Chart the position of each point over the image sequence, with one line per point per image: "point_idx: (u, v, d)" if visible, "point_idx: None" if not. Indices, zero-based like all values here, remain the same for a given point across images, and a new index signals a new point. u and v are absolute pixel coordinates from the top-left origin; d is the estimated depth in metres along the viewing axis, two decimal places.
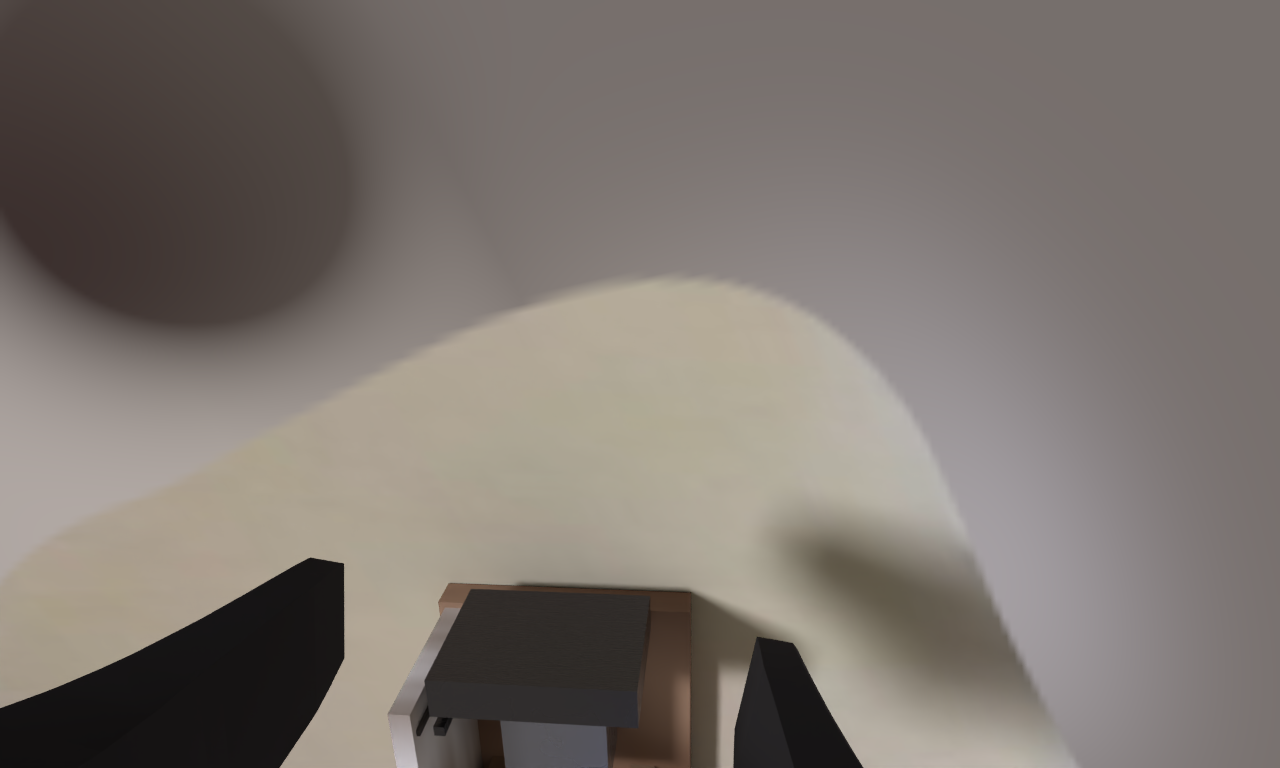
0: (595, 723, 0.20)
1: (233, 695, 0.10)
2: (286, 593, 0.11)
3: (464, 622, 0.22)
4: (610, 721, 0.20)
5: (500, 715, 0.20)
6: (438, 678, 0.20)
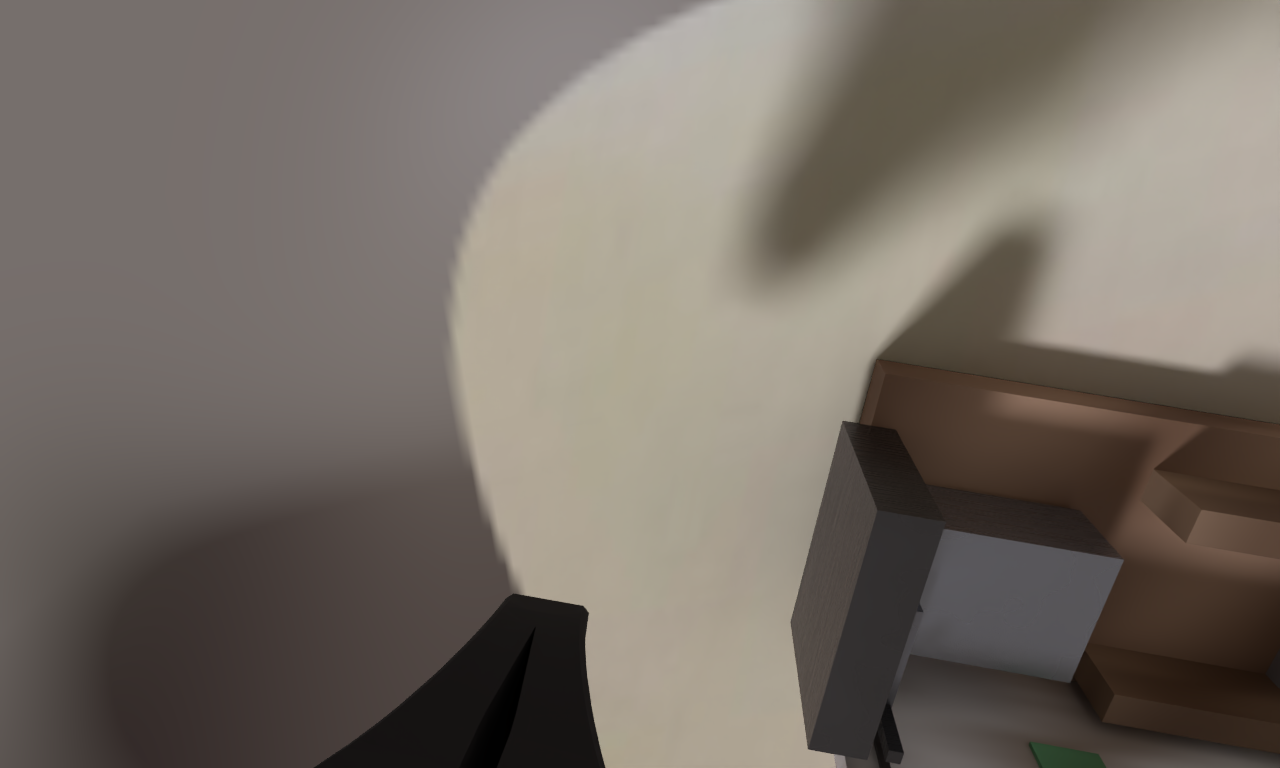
0: (923, 574, 0.14)
1: (489, 742, 0.10)
2: (515, 634, 0.11)
3: (799, 656, 0.17)
4: (924, 554, 0.13)
5: (883, 683, 0.14)
6: (811, 731, 0.15)
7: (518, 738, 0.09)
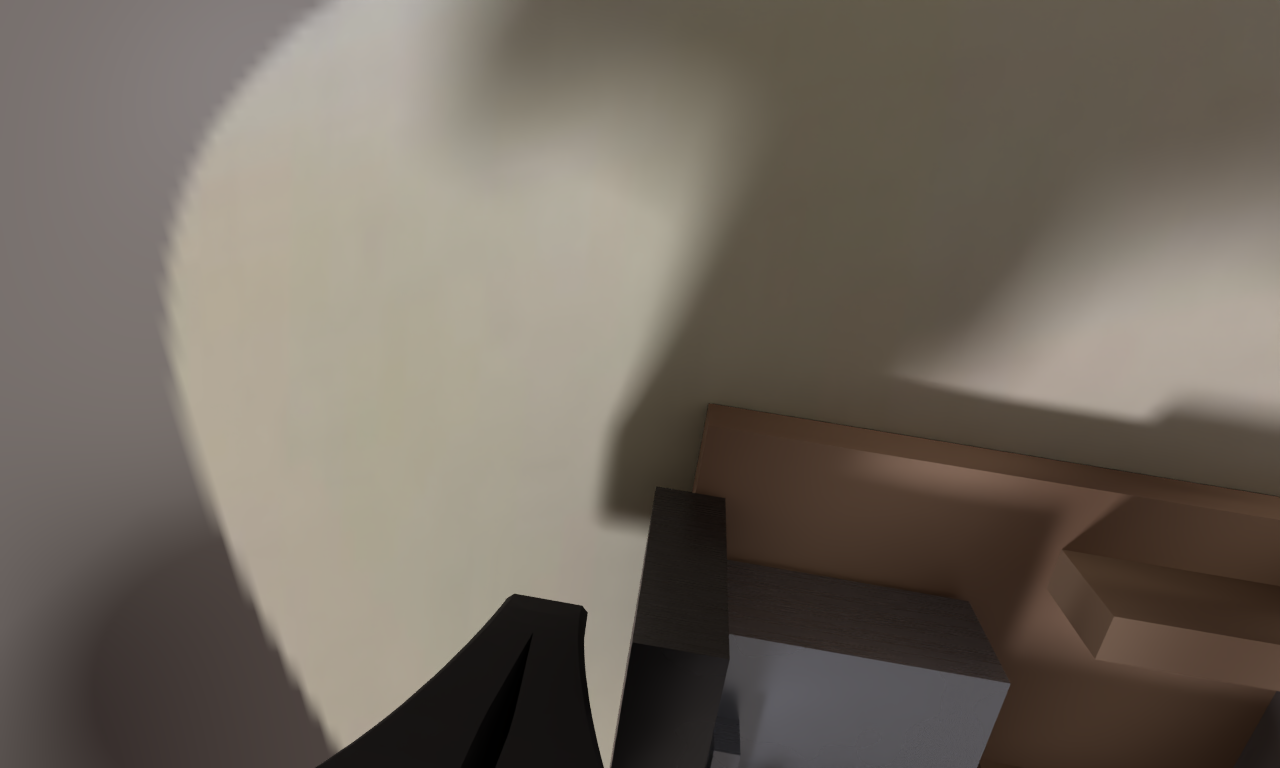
0: (707, 727, 0.10)
1: (490, 743, 0.10)
2: (515, 634, 0.11)
3: None
4: (704, 702, 0.09)
5: None
6: None
7: (516, 738, 0.09)
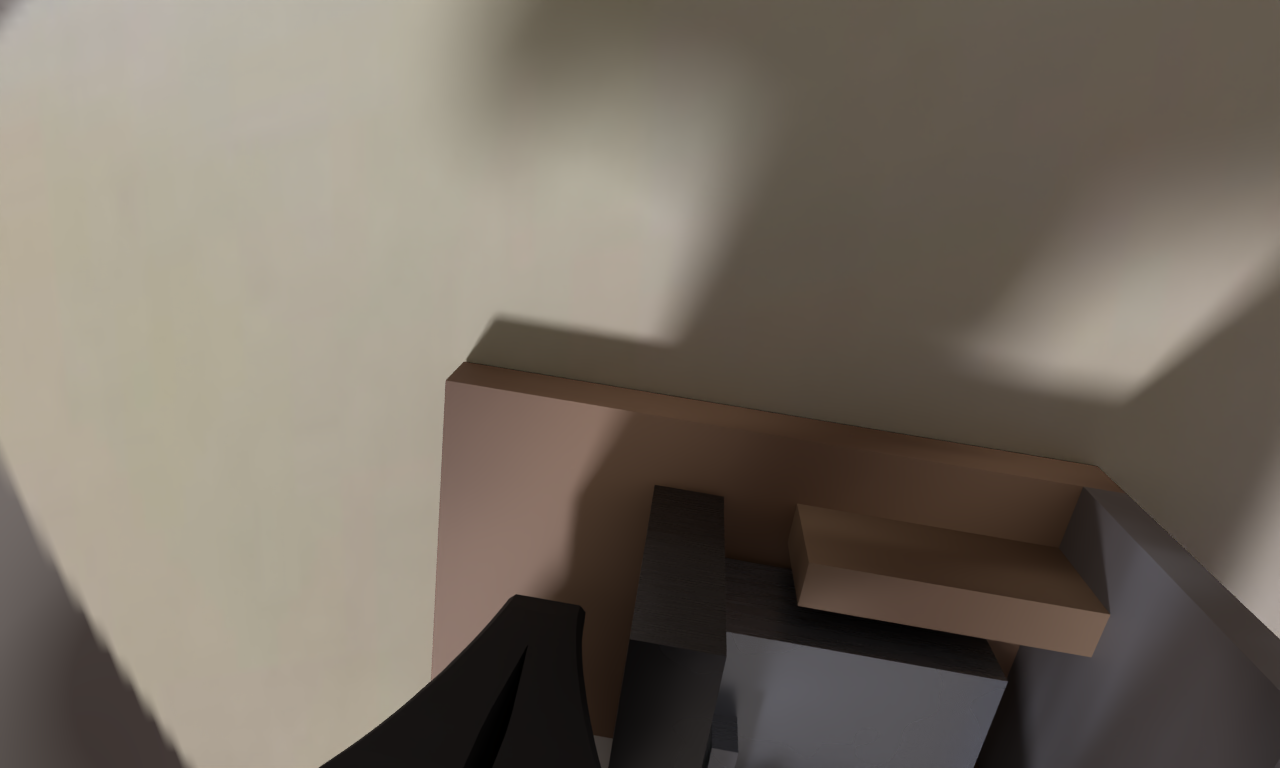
0: (704, 725, 0.10)
1: (492, 743, 0.10)
2: (517, 635, 0.11)
3: None
4: (701, 699, 0.09)
5: None
6: None
7: (514, 737, 0.09)
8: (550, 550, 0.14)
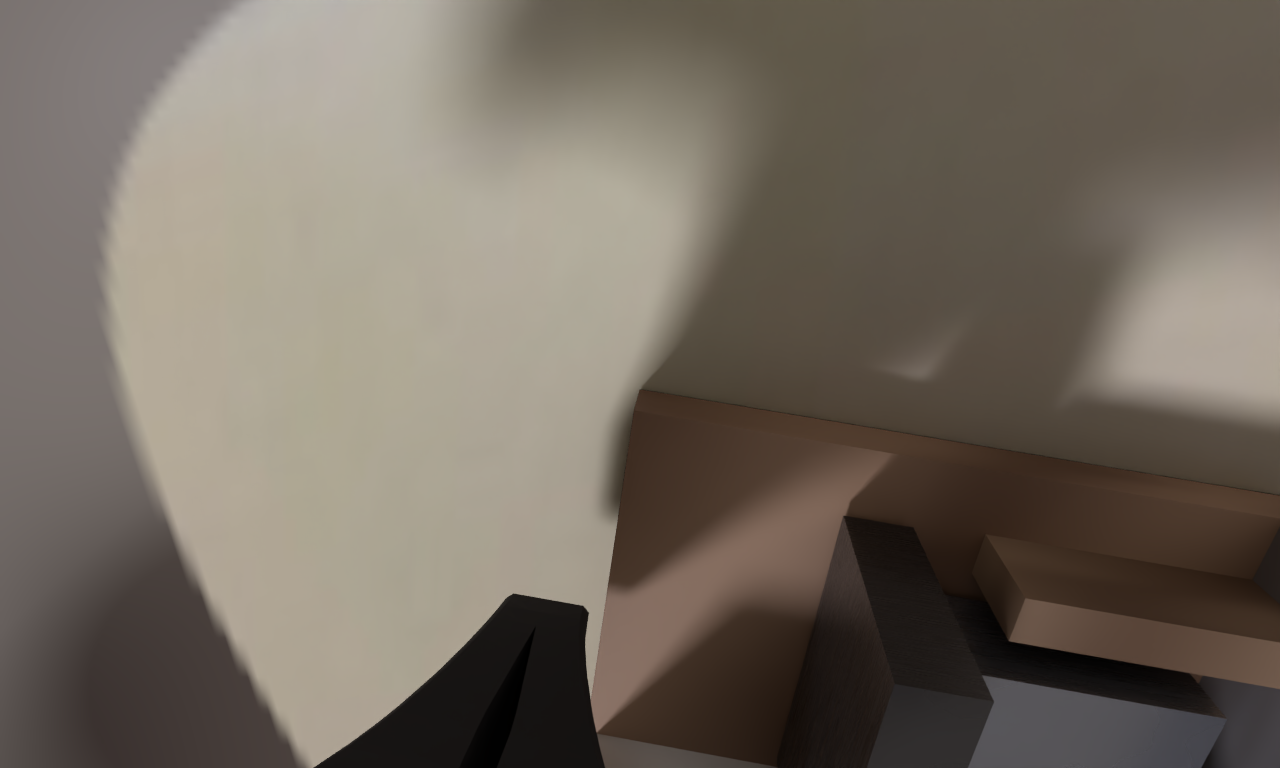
0: None
1: (489, 742, 0.10)
2: (514, 634, 0.11)
3: None
4: (961, 743, 0.09)
5: None
6: None
7: (518, 738, 0.09)
8: (725, 579, 0.14)
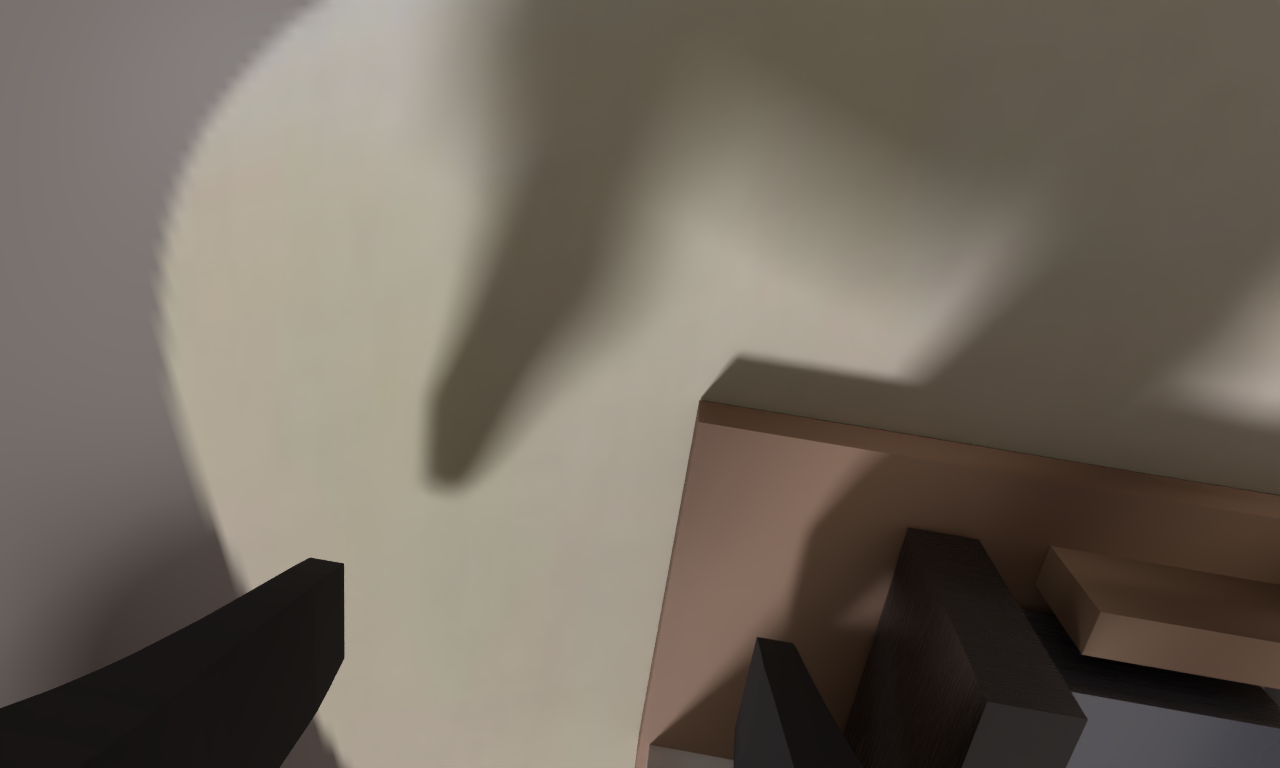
0: None
1: (233, 695, 0.10)
2: (286, 593, 0.11)
3: None
4: (1052, 761, 0.09)
5: None
6: None
7: None
8: (785, 590, 0.14)
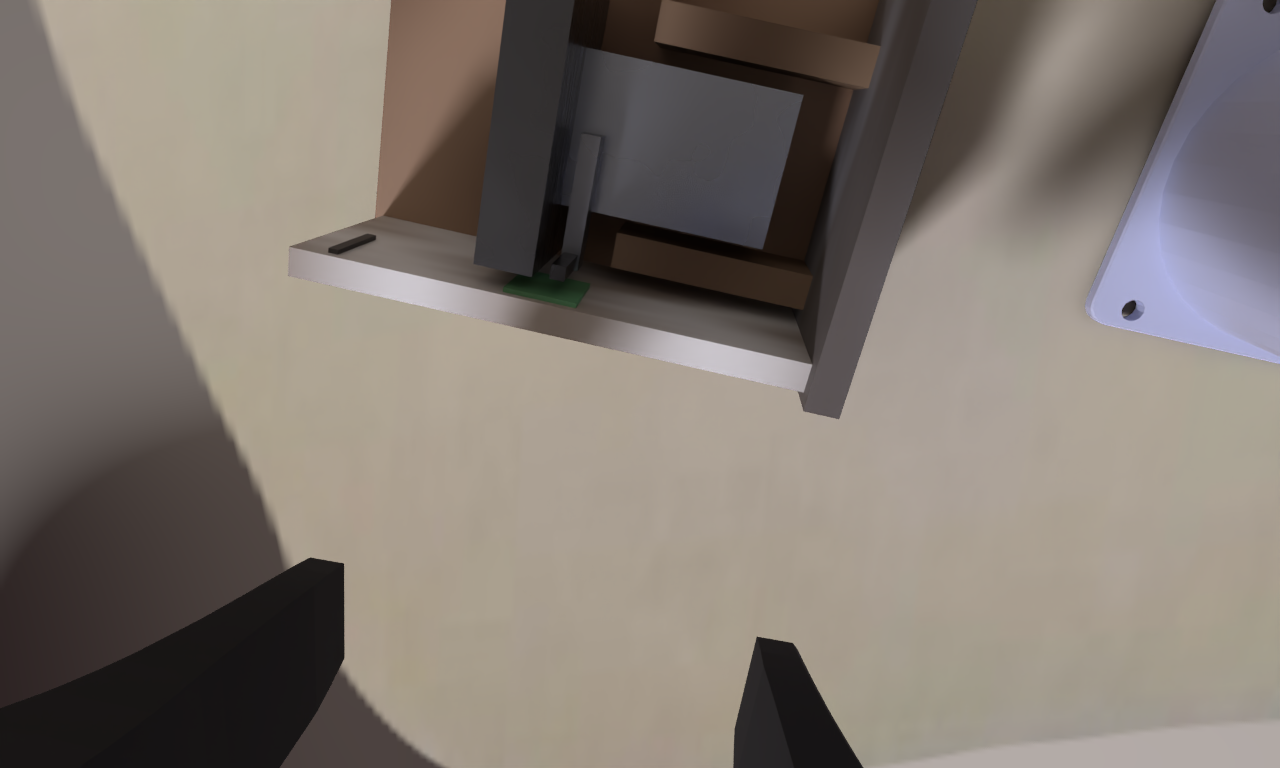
0: (564, 33, 0.13)
1: (233, 695, 0.10)
2: (286, 593, 0.11)
3: None
4: (562, 7, 0.13)
5: (537, 176, 0.14)
6: (476, 245, 0.15)
7: None
8: (476, 55, 0.18)
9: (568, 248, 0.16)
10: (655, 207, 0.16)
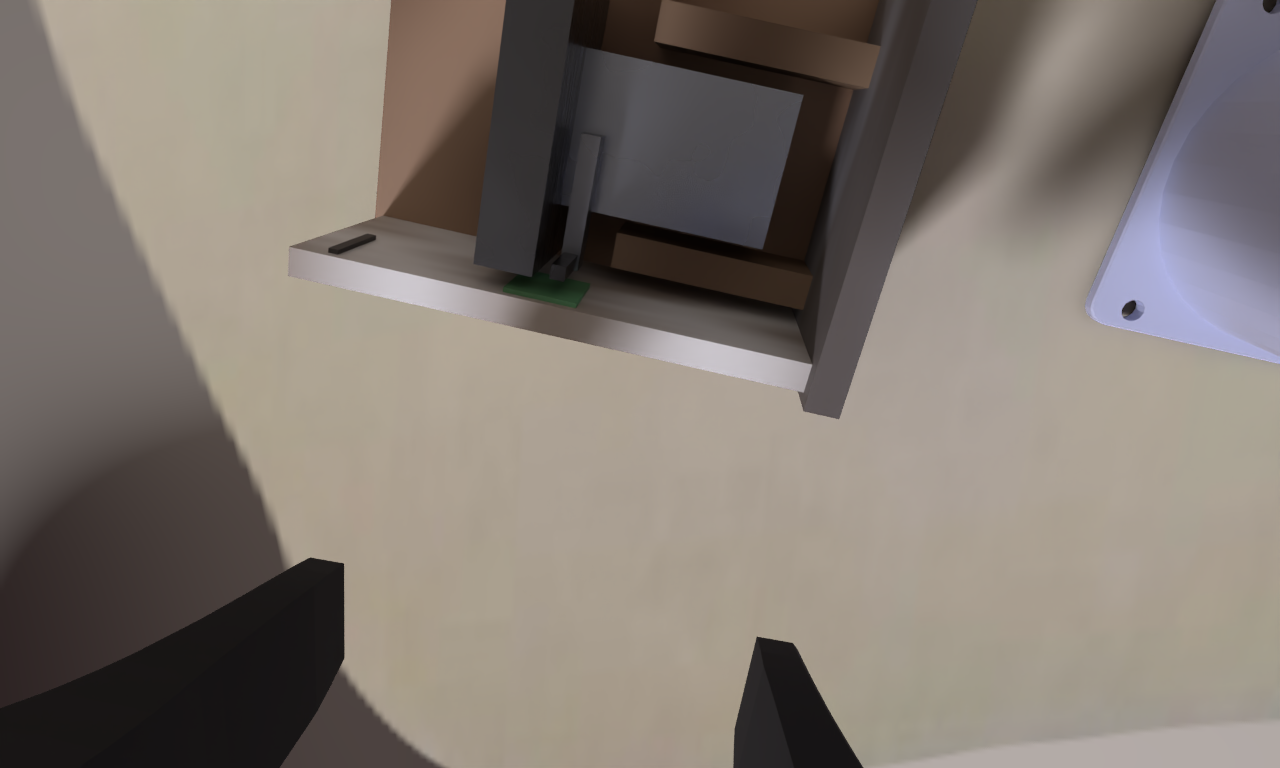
0: (564, 33, 0.13)
1: (233, 695, 0.10)
2: (286, 593, 0.11)
3: None
4: (562, 7, 0.13)
5: (537, 176, 0.14)
6: (476, 245, 0.15)
7: None
8: (476, 55, 0.18)
9: (568, 248, 0.16)
10: (655, 207, 0.16)
